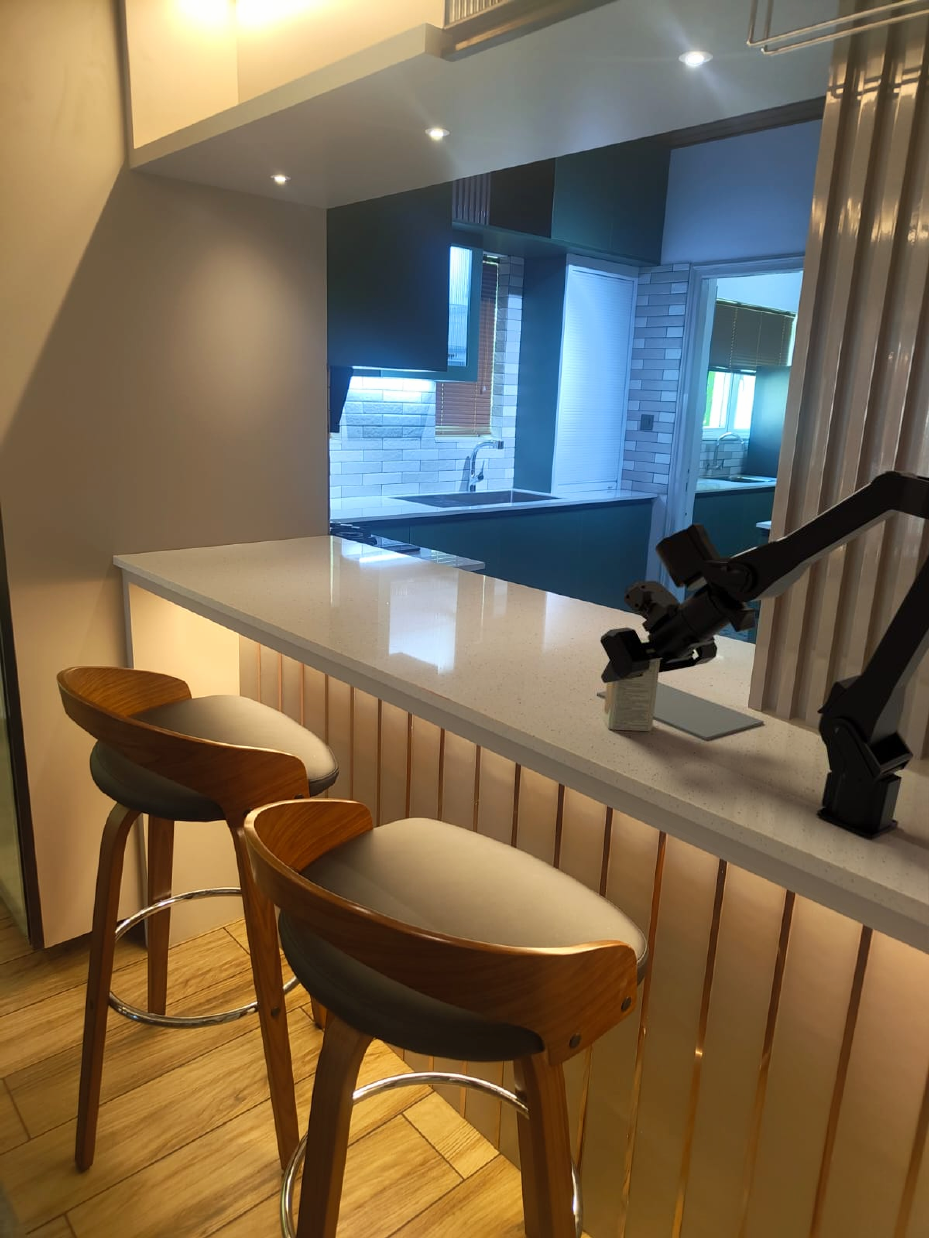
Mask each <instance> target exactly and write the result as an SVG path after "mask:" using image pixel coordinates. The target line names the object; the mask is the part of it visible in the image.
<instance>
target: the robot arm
mask: <svg viewBox="0 0 929 1238" xmlns="http://www.w3.org/2000/svg"><path fill="white" fill-rule="evenodd" d="M899 512H901V513H902V514H903V513H904V514H907V515H910V516H914V517H917V518H921V519H923V520H924V519H925V520H929V477H928V476H924V475H923V476H922V475H917V474H915V473H914V472H911V471H905V470H886V471H882V472H881V473H879V474H877V475H876V476H875V477H874V478H873V479H872V480H871V481H870V482H868V483H867V484H866V485H864V486H863V487H861V488H860V489H858V490H856V491H855V492H853V493H851V494H850V495H849V496H847V497H846V498H844V499H842V500H840V501H839V502H837V503H836V504H834V505H833V506H831V507H830V508H828V509H827V510H825V511H823V512H822V513H820V514H819V515H817V516H815V517H814V518H812V519H811V520H809V521H808V522H806V523H804V524H803V525H801V526H799V527H798V528H797V529H795V530H793V531H792V532H790V533H788V534H787V535H786V536H783V537H781V538H777V539H776V540H773V541H768V542H766V543H763V544H760V545H757V546H755V547H752V548H750V549H747V550H745V551H743V552H740V553H738V554H737V553H736V554H735V555H733V556H726V557H722V556H720V554H719V551H718V550H717V548H716V546H715V545H714V543H713V542H712V541H711V540H712V539H710V537H709V534H708V532H707V530H706V528H705V526H704V525H703V523H692V524H690V525H689V526H688V527H687V528H684V529H682V530H679V531H677V532H675V533H673V534H672V535H670V536H667V537H664V538H663V539H662V540H660V541H659V542H658V544H657V545H655V548H654V550H655V554H656V555H657V556H658V558H659V560H660V561H661V563H662V564H663V567H664V568H665V570H666V573H667V574H668V576H669V577H670V579H671V580H672V582H673V584H674V586H675V588H678V589H679V588H680V589H681V588H686V590H687V591H688V592H690V591H694V590H696V592H694V593H693V594H692V595H690V596H689V597H688V598H686V599H685V600H684V601H683V602H681V603H680V601H679V599H678V598H677V597H676V596H675V595H674V594H673V593H672V592H670V591H669V589H668V588H666V587H665V586H664V585H663V584H662V583H660V582H658V581H656V580H645V581H643V580H642V581H637V582H636V583H634V584H633V583H632V585H631V587H629V588H626V589H625V591H624V594H625V595H624V596H623V602H624V604H626V606H627V607H628V608H629V609H630V610H632V611H633V612H634V613H638V614H639V615H640V617H641V618H643V619H644V620H645V621H643V622H642V623H641V626H642V627H643V629H644V631H645V632H648V635H647V637H646V639H648V640H649V642H644V643H642V642H641V640H640V637H639V635H638V633H637V631H636V629H633V628H631V627H628V626H627V627H621V628H613V629H609V630H608V631H606V633H604V634H603V635H602V636H600V641H599V642H600V643H601V646H602V648H603V650H604V651H605V653H606V656H607V658H608V659H609V660H610V661H609V660H608V663H607V664H606V667H605V668H604V670H603V672H602V673H601V675H600V677H601V680H602V682H603V683H604V684H607V683H608V682H614V681H620V680H625V679H631V678H636V677H641V676H643V673H644V672H646V671H647V670H648V669H649V666H650V661H652V660H658V659H660V666H659V674H660V673H661V674H662V673H665V672H666V673H667V672H671V671H677V670H682V669H687V668H693V667H695V666H698V665H705V664H707V663H709V662H711V661H712V660H714V659H715V658H717V652H718V646H717V645H716V642H715V641H716V639H715V637H714V636H716V635H717V634H719V633H720V632H722V631H723V630H724V629H726V628H727V627H728V626H730V625H731V627H732V628H733V630H734V632H736V633H740V632H745V631H750V630H753V629H755V628H756V618H755V617H756V616H755V615H756V612H757V609H755V608H752V607H749V606H748V605H747V604H746V603H749V602H750V603H752V602H756V601H764V600H768V599H774V598H775V599H776V598H778V597H779V596H781V595H783V594H784V593H785V592H786V591H787V590H788V589H789V588H791V587H792V586H793V585H794V584H796V582H798V581H799V580H800V579H801V578H802V577H803V575H804V574H805V573H806V571H807V570H808V569H809V568H810V567H811V566H812V565H814V563H816V562H817V561H819V560H821V559H822V558H824V557H826V556H827V555H829V554H831V553H832V552H834V551H835V550H838V549H839V548H840V547H842V546H844V545H846V544H847V543H849V542H850V541H852V540H855V539H857V538H858V537H860V535H863V534H864V533H866V532H867V531H869V530H870V529H872V528H874V527H876V526H878V525H879V524H881V523H883V522H884V521H886V520H888V519H890V518H891V517H892V516H894V515H896V514H898V513H899ZM927 547H928V549H927V554H926V558H925V561H924V563H923V565H922V566H921V567H920V569H919V571H918V574H917V575H916V577H915V579H914V581H913V582H912V584H911V586H910V588H909V589H908V591H907V592H906V595H905V597H904V598H903V600H902V602H901V604H900V605H899V607H898V609H897V611H896V613H895V615H894V616H893V618H892V620H891V622H890V624H889V625H888V627H887V629H886V631H885V633H883V636H882V638H881V640H880V641H879V643H878V645H877V647H876V649H875V650H874V652H873V654H872V656H871V658H870V659H869V661H868V663H867V665H866V666H865V668H864V670H863V671H862V673H861V674H857V675H853V676H851V677H847V678H844V679H842V680H841V679H840V680H838V681H835V682H834V683H833V685H832V687H831V688H830V692H829V694H828V698H827V700H826V702H825V704H824V705H823V706H822V707H820V708H819V709H818V710H817V713H818V714H820V715H821V717H820V719H819V722H818V728H817V729H818V730H817V731H818V733H819V734H820V737H821V740H822V742H823V744H824V745H825V748H826V755H827V760H828V767H829V770H830V771H829V772H827V775H826V778H825V784H824V788H823V789H824V790H823V794H822V799H821V803H820V804H821V806H822V807H823V808H820V809H818V810H816V816H817V817H819V818H822V819H824V820H826V821H828V822H831V823H832V824H835V825H837V826H840V827H841V828H843V829H846V830H849V831H851V832H854V833H855V834H858V835H860V836H862V837H864V838H866V839H870V840H871V839H875V838H876V837H879V836H881V835H883V834H885V833H887V832H889V831H891V830H892V829H895V828H897V827H898V826H899V821H898V820H896V819H894V816H895V815H894V814H895V810H896V805H897V801H898V797H899V791H900V787H901V785H902V784H901V783H902V779H903V778H902V776H901V775H898V774H896V773H897V772H898V771H903V770H904V769H906V768H907V766H908V765H909V764H910V762H911V761H912V759H913V758H914V753H913V752H912V750H911V749H910V747H909V746H908V744H907V743H906V741H905V739H904V738H903V737H902V735H901V733H900V732H899V731H898V726H899V723H900V719H901V716H902V714H903V711H904V706H905V704H904V703H905V694H906V689H907V686H908V684H909V683H910V681H911V679H912V677H913V675H914V674H915V672H916V670H917V668H919V667H918V666H920V664H921V662H922V660H923V658H924V657H925V655H926V654H927V651H928V649H929V545H928V546H927ZM697 589H698V590H697ZM695 652H696V654H697V657H694V655H695Z"/></svg>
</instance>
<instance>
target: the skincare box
mask: <svg viewBox="0 0 929 1238" xmlns="http://www.w3.org/2000/svg"><path fill="white" fill-rule="evenodd" d="M639 638H640V637H639ZM640 640H641V642H642V643H644V642H649V640H648V638H640ZM609 661H610V660H608V662H609ZM659 666H660V659H658V660H652V661H650V666H649V669H648V670H647V671H646V672H644V673H643V676H641V677H636V678H631V679H625V680H620V681H614V682H608V683H606V689H605V691H606V696H605V699H604V705H603V706H604V707H603V716H602V718H603V722H604V724H605V725H606V727H607V729H608V730H616V731H617V730H618V731H638V732H640V731H641V732H652V730H653V723H654V719H653V715H654V708H655V699H656V691H657V683H658V682H659V674H660V673H659Z"/></svg>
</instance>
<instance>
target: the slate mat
mask: <svg viewBox="0 0 929 1238" xmlns="http://www.w3.org/2000/svg"><path fill="white" fill-rule="evenodd" d="M597 695H598V697H600V698H602V699H604V698H605V696H606V690H605V691H600V692H597V693H596V696H597ZM653 720H655V721H658V722H661V723H662V722H663V724H665V725H668V726H669V727H672V728H675V729H678V730H680V731H682V732H685V733H687V734H689V735H691V736H694V737H697V738H699V739H701V740H704V741H708V740H711V739H714V738H718V737H721V736H722V737H723V736H726V735H729V734H732V733H735V732H740V731H743V730H746V729H750V728H754V727H757V726H760V725H764V724H765V723H764V722H765V721H764V720H762V719H759V718H756V717H753V716H751V715H748V714H746V713H742V712H741V711H737V710H735V709H733V708H730V707H726V706H725V705H721V704H718V703H716V702H713V701H711V700H708V699H705V698H702V697H700V696H697V695H694V694H691V693H690V692H686V691H683V690H681V689H678V688H676V687H672V686H670V685H668V684H664V683H662V682H660V681H658V683H657V691H656V699H655V708H654V715H653Z"/></svg>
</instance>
